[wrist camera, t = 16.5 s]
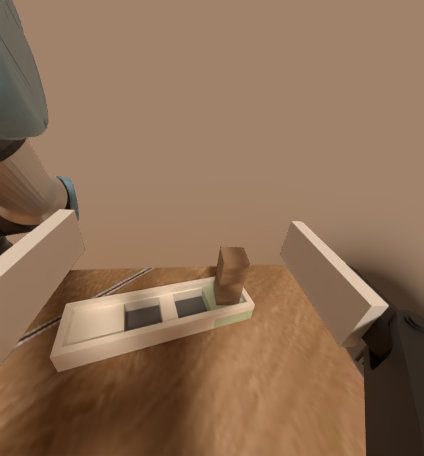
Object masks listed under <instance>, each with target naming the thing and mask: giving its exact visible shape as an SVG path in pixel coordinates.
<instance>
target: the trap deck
mask: <svg viewBox="0 0 424 456" xmlns="http://www.w3.org/2000/svg"><path fill="white" fill-rule="evenodd" d="M214 282H215V277H210V278H204V279H199V280H193V281H188V282H182V283H177V284H171V285H166V286H160V287H155V288H149V289H144V290H138V291H133V292H127V293H122V294H116V295H111V296H105V297H100V298H94V299H89V300H83V301H78V302H72V303H67V304H66V305H65V308H64V312H63V315H62V318H61V322H60V325H59V328H58V332H57V335H56V338H55V342H54V345H53V348H52V352H51V355H50V359H51V361H52V362H53V364H54V366H55V368H56V370H57V371H58V372H61V371H64V370H68V369H72V368H75V367H79V366H82V365H86V364H89V363H93V362H96V361H100V360H104V359H107V358H111V357H114V356H118V355H121V354H125V353H128V352H132V351H135V350H139V349H143V348H146V347H150V346H153V345H157V344H160V343H164V342H167V341H171V340H175V339H178V338H182V337H185V336H189V335H192V334H196V333H199V332H203V331H207V330H210V329H214V328H217V327H221V326H224V325H228V324H231V323H235V322H239V321H242V320H246V319H249V318H251V315H252V312H253V309H254V306H255V304H254V303H253V301H252V300H251V298H250V296H249V295H248V293H247V292H246V290H245V289H244V287H243V290H242V294H241V298H240V301H239V304H235V305H216V300H215V294H214Z"/></svg>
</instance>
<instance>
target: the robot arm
mask: <svg viewBox="0 0 424 456" xmlns="http://www.w3.org/2000/svg"><path fill="white" fill-rule="evenodd" d="M47 125H48V111H47V104H46V99H45V95H44V91H43V88H42V84H41V80H40V76H39V73H38V70H37V66H36V63H35V60H34V57H33V54H32V52H31V50H30V47H29V45H28V42H27V40H26V38H25V36H24V33H23V28H22V25H21V21H20V19H19V16H18V14H17V11H16V9H15V6H14V4H13V2H12V0H0V366H1V364H2V363H3V362H4V360H5V359H6V357H7V356H8V355H9V353H10V352H11V351H12V349H13V348H14V346H15V345H16V344H17V342H18V341H19V340H20V338H21V337H22V335H23V334H24V333H25V331H26V330H27V329H28V327H29V326H30V324H31V323H32V322H33V320H34V319H35V318H36V316H37V315H38V313H39V312H40V311H41V309H42V308H43V307H44V305H45V304H46V302H47V301H48V300H49V298H50V297H51V296H52V294H53V293H54V291H55V290H56V289H57V287H58V286H59V285H60V283H61V282H62V280H63V279H64V278H65V276H66V275H67V274H68V272H69V271H70V269H71V268H72V267H73V265H74V264H75V263H76V261H77V260H78V258H79V257H80V256H81V254H82V253H83V252H84V250H85V248H84V244H83V240H82V236H81V232H80V228H79V224H78V220H79V213H78V204H77V198H76V194H75V190H74V187H73V184H72V182H71V180H70V179H69V178H67V177H59V176H57V177H55V176H54V175H52V174H51V173H49V172H47V171H46V170H45V169H44V167H43V165H42V164H41V162H40V160H39V158H38V156H37V155H36V153H35V151H34V150H33V148H32V146H31V144H30V142H29V141H28V138H29V137H36V136H39V135H41V134H42V133H43V132H44V131H45V129H46V128H47ZM27 232H30V233H29V234H27V235H26V236H25V237H24V238H22V239H21V240H20V241H18V242H17V243H16V244H15V245H13V244H11V243H10V242H9V241H8V240H7V239H6V237H5V236H7V235H13V234H20V233H27ZM280 256H281V257H282V259H283V260H284V262H285V263H286V265H287V266H288V268H289V269H290V271H291V273H292V274H293V276H294V277H295V279H296V280H297V282H298V283H299V285H300V286H301V288H302V290H303V291H304V293H305V294H306V296H307V297H308V299H309V300H310V302H311V303H312V305H313V307H314V308H315V310H316V311H317V313H318V314H319V316H320V317H321V319H322V320H323V322H324V324H325V325H326V327H327V328H328V330H329V331H330V333H331V334H332V336H333V337H334V339H335V341H336V342H337V344H338V345H339V347H349V346H355V345H356V344H357V343H358V342H359V341H360V339H361V338H362V339H363V340H364V341H365V343H366V344H367V345H366V346H365V347H364V348H363V349H362V351H361V352H360V353H359V354H358V355H357V356H356V359H355V360H356V361H359V360H360V359H361V358H362V357H364V362H363V363H362V364H363V365H364V391H365V428H366V456H424V318H422V317H421V316H419V315H417V314H415V313H413V312H410V311H407V310H398V309H397V308H396V307H395V306H394V305H393V304H392V303H391V302H390V301H389V300H388V299H387V298H386V297H385V296H383V295H382V294H381V293H380V292H379V291H378V290H377V289H376V288H375V287H374V286H372V285H371V283H370V282H369V281H368V280H366V279H364V277H363V276H362V275H361V274H360V273H359V272H358V271H357V270H356V269H353V268H352V267H351V266H349V265H348V264H346V263H344V262H343V261H342V260H341V259H340V258H339V257H338V256H337V255H336V254H335V253H334V252H333V251H332V250H331V249H330V248H329V247H328V246H327V245H326V244H325V243H324V242H323V241H322V240H320V239H319V238H318V237H317V236H316V235H315V234H314V233H313V232H312V231H311V230H310V229H309V228H308V227H307V226H306V225H305V224H304V223H303V222H297V221H291V224H290V227H289V229H288V232H287V235H286V238H285V241H284V244H283V246H282V249H281V252H280Z"/></svg>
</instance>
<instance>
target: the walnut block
mask: <svg viewBox="0 0 424 456" xmlns="http://www.w3.org/2000/svg"><path fill="white" fill-rule="evenodd" d="M249 264H250V263H249V260H248V258H247V255H246V253H245V251H244V248H237V247H220V252H219V259H218V264H217V270H216V276H215V282H214V294H215V300H216V305H235V304H239V301H240V298H241V294H242V290H243V287H244V283H245V279H246V275H247V272H248V268H249Z"/></svg>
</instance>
